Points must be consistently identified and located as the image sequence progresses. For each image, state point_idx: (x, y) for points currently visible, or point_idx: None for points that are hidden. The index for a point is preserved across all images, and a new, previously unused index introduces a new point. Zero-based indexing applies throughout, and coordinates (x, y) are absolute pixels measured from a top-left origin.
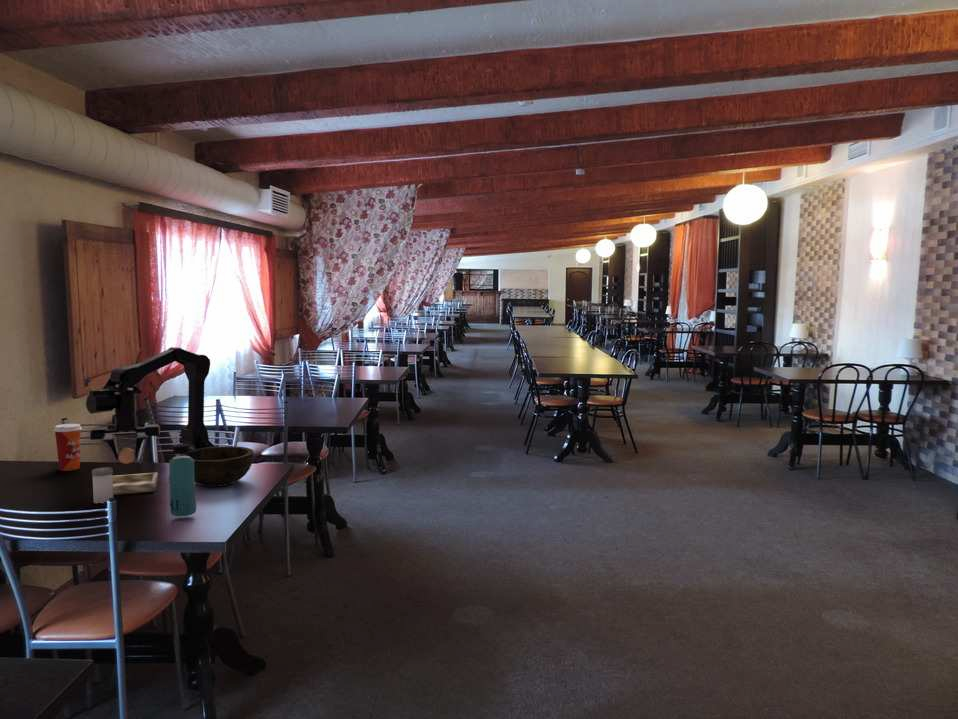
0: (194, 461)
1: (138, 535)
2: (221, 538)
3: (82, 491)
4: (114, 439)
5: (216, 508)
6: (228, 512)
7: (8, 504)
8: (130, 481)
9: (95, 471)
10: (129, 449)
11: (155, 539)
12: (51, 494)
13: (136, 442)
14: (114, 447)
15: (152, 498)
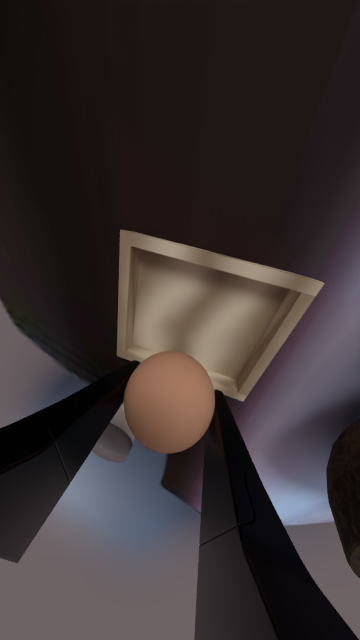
0: (355, 573)
1: (172, 487)
2: None
3: (98, 287)
4: (11, 542)
5: (278, 497)
6: (281, 511)
7: (4, 305)
8: (212, 272)
9: (92, 450)
10: (171, 452)
11: (183, 499)
12: (43, 274)
13: (199, 575)
14: (77, 460)
15: None
